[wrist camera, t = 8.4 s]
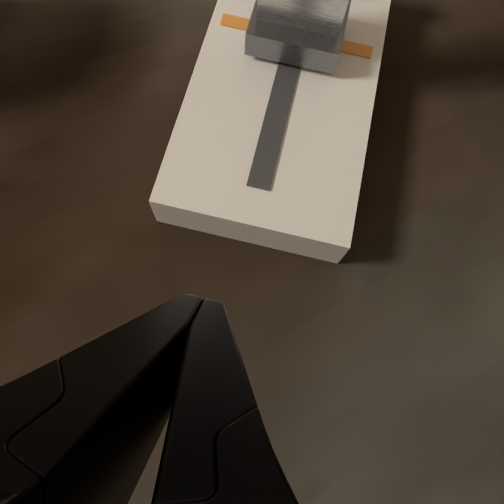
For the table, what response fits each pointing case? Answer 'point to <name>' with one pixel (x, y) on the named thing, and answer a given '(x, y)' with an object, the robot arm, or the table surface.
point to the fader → (298, 32)
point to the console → (273, 139)
